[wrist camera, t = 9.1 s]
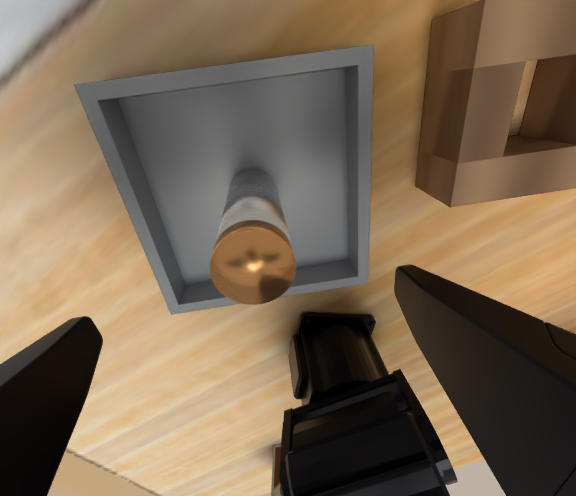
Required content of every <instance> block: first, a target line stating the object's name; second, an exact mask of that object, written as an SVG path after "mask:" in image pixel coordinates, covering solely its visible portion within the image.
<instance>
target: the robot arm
mask: <svg viewBox="0 0 576 496" xmlns="http://www.w3.org/2000/svg"><path fill="white" fill-rule="evenodd" d="M394 292H395V296H396V298H397V301H398V303H399V305H400V307H401V310H402V312H403V314H404V316H405V319H406V321H407V323H408V325H409V328H410V330H411V332H412V334H413V336H414V338H415V341H416V342H417V344H418V346H419V348H420V350H421V351H422V353H423V355H424V356H425V358H426V360H427V361H428V363H429V365H430V367H431V368H432V370H433V372H434V373H435V375H436V377H437V379H438V380H439V382H440V384H441V385H442V387H443V389H444V390H445V392H446V394H447V396H448V397H449V399H450V401H451V402H452V404H453V406H454V408H455V409H456V411H457V413H458V414H459V416H460V418H461V419H462V421H463V423H464V425H465V426H466V428H467V430H468V431H469V433H470V435H471V436H472V438H473V440H474V442H475V443H476V445H477V447H478V448H479V450H480V452H481V454H482V455H483V457H484V459H485V460H486V462H487V464H488V465H489V467H490V469H491V471H492V472H493V474H494V476H495V477H496V479H497V481H498V482H499V484H500V486H501V488H502V489H503V491H504V493H505V494H506V496H576V334H574V333H571V332H569V331H566V330H564V329H562V328H559V327H557V326H555V325H552V324H550V323H547V322H546V323H544V322H543V321H542V320H540V319H538V318H536V317H533V316H531V315H529V314H526V313H524V312H522V311H519V310H517V309H515V308H512V307H510V306H508V305H505V304H503V303H500V302H498V301H496V300H493V299H491V298H489V297H486V296H484V295H482V294H479V293H477V292H475V291H472V290H470V289H468V288H465V287H463V286H461V285H458V284H456V283H454V282H451V281H449V280H447V279H444V278H442V277H440V276H437V275H435V274H432V273H430V272H428V271H425V270H423V269H421V268H418V267H416V266H414V265H403V266H398V267H397V269H396V273H395V285H394ZM306 318H308V319H306ZM368 321H370V322H368ZM375 323H376V321H375V319H374V317H373V316H371V315H353V314H330V313H303V314H302V315H301V316H300V321H299V325H298V330H297V334H295V335H294V336H293V337H292V342H291V347H290V352H289V363H290V371H291V379H292V387H293V395H294V397H295V398H296V399H301V401H302V406H300V407H298V408H295V409H292V408H291V409H288V410H285V411H284V422H283V429H282V442H281V455H280V469H279V481H280V494H281V496H450V495H449V493H448V490H447V488H446V486H445V485H449V484H452V483H456V482H457V478H456V475H455V472H454V470H453V467H452V465H451V463H450V461H449V458H448V456H447V454H446V452H445V450H444V448H443V446H442V444H441V441H440V439H439V437H438V435H437V433H436V431H435V430H434V428H433V426H432V424H431V422H430V420H429V418H428V416H427V415H426V413H425V411H424V409H423V408H422V406H421V404H420V402H419V401H418V399H417V397H416V395H415V394H414V392H413V390H412V389H411V387H410V385H409V383H408V382H407V380H406V378H405V376H404V375H403V373H402V371H401V369H399V370H396V371H393V373H392V374H389V373H388V371H387V369H386V367H385V365H384V362H383V360H382V358H381V356H380V354H379V352H378V350H377V348H376V345H375V343H374V341H373V339H372V337H371V334H372V331H373V329H374V326H375ZM102 344H103V339H102V336H101V334H100V332H99V331H98V329H97V327H96V326H95V324H94V322H93V321H92V319H91V318H89V317H87V316H83V317H77V318H72V319H70V320H68V321H67V322H65V323H64V324H62V325H61V326H59V327H57V328H56V329H54V330H53V331H51V332H50V333H48V334H47V335H45V336H43V337H42V338H40V339H39V340H37V341H36V342H34V343H33V344H31V345H29V346H28V347H26V348H25V349H23V350H22V351H20V352H19V353H17V354H16V355H14V356H12V357H11V358H9V359H8V360H6V361H5V362H3V363H2V364H0V496H47V494H48V492H49V489H50V487H51V485H52V482H53V480H54V477H55V475H56V472H57V469H58V467H59V465H60V462H61V460H62V457H63V455H64V452H65V450H66V447H67V445H68V443H69V440H70V438H71V435H72V433H73V430H74V428H75V425H76V423H77V420H78V418H79V415H80V413H81V410H82V408H83V406H84V403H85V400H86V398H87V395H88V392H89V389H90V385H91V382H92V379H93V375H94V372H95V368H96V365H97V362H98V358H99V355H100V351H101V348H102Z"/></svg>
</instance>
